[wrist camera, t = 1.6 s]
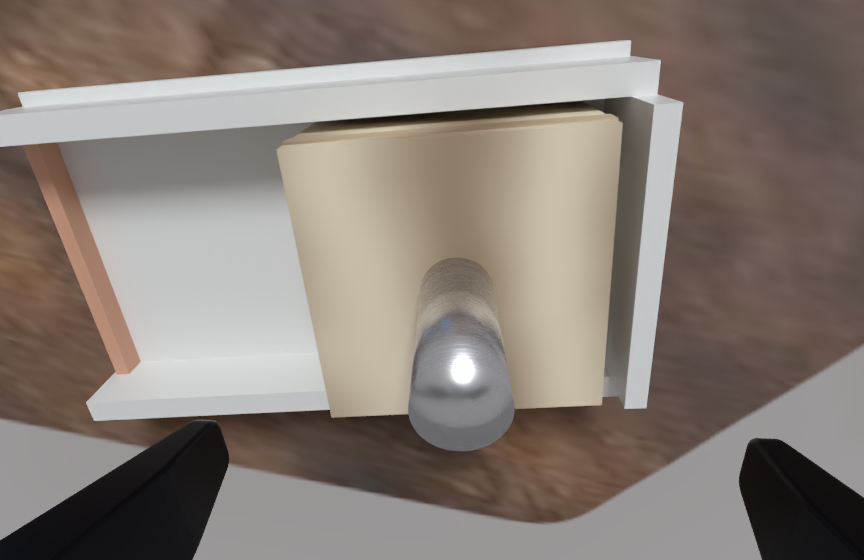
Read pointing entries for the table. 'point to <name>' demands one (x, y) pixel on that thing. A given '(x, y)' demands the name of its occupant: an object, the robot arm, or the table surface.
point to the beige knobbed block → (458, 262)
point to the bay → (270, 220)
